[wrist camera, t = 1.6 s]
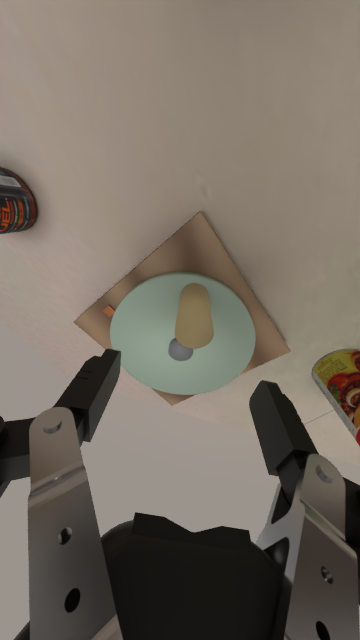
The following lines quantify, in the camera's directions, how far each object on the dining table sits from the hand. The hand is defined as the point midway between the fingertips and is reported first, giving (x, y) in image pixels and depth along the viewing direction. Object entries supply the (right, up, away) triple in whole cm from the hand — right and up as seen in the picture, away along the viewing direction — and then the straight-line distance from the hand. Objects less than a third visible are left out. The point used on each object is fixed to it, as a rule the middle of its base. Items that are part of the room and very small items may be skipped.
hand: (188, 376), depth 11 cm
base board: (0, +2, +17) cm, 17 cm away
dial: (0, +1, +15) cm, 15 cm away
